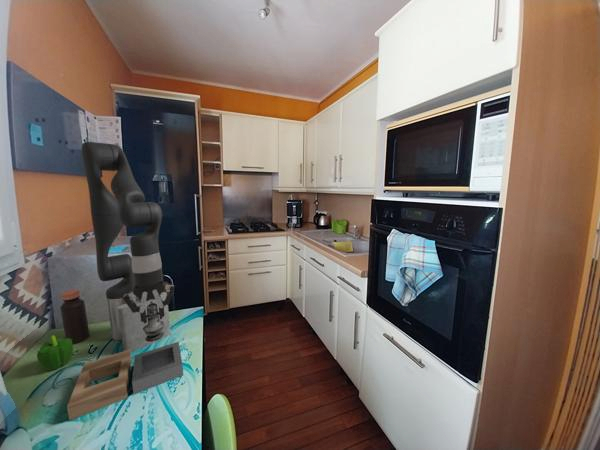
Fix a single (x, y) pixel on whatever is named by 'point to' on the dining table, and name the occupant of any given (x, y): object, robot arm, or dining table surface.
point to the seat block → (156, 367)
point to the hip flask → (139, 325)
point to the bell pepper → (55, 353)
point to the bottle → (74, 316)
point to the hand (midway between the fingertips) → (153, 319)
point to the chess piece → (153, 324)
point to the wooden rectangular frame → (100, 384)
